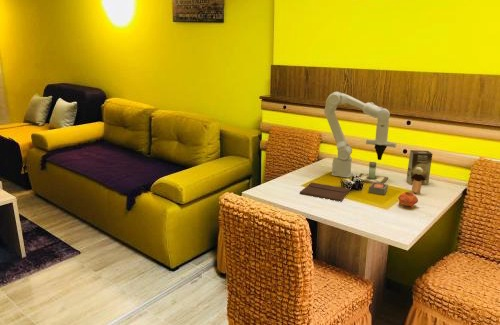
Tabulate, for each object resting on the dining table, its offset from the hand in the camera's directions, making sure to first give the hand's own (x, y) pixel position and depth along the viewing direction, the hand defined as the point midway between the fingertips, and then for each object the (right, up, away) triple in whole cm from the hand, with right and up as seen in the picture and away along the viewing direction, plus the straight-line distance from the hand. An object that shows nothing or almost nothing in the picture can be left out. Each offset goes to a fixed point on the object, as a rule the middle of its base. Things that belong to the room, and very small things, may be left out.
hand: (379, 159), depth 208 cm
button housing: (-6, -15, -16) cm, 23 cm away
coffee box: (+18, -12, -3) cm, 22 cm away
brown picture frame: (-4, -10, +1) cm, 11 cm away
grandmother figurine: (+12, -16, -18) cm, 27 cm away
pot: (+1, -21, -33) cm, 39 cm away
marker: (-4, -9, +1) cm, 10 cm away
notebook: (-31, -16, -17) cm, 39 cm away
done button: (-6, -15, -16) cm, 23 cm away
